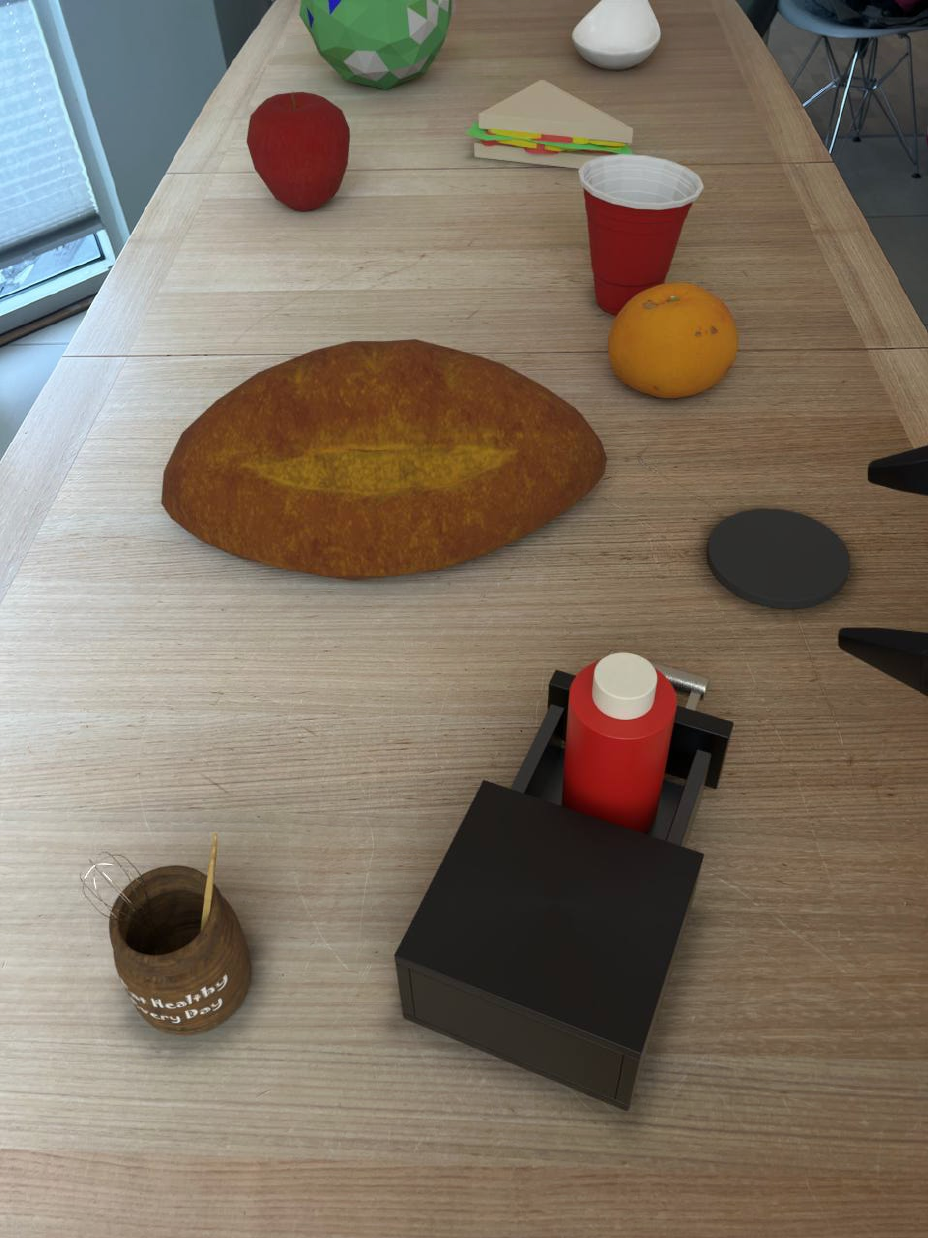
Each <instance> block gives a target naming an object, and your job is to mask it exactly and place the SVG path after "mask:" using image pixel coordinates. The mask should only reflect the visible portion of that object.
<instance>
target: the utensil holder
mask: <svg viewBox="0 0 928 1238" xmlns="http://www.w3.org/2000/svg"><path fill="white" fill-rule="evenodd" d="M218 834H219V833H216V832H215V833H213V838H212V844H211V849H210V854H209V861H208V866H207V874H205V873H204V872H202V871H201V870H199V869H197V868H193V867H192V866H191V867H190V866H187V865H178V864H177V865H176V864H175V865H165V866H160V867H156V868H153V869H150V870H148V871H146V872H143V873H142V874H141V873H140V871H139V870H138V868H136V866H135V865H134V864H133V863H132V862H131V861H130V860H129V859H128V858H127V857H126V856H124V855H122V854H111V853H110V852H108V851H102V852H99V854H98V855H97V856H96V859H95V862H94V861H93V860H92V859H91V858H88V862H89V863H90V864H89V865H86V866H84V867H83V868H82V869H81V870H80V873H79V880H80V882H81V883H82V892H83V895H84V897H85V898H86V900H87V901H88V903H90V904H91V906H92V907H93V908H94V909H95V910H96V911H97V912H98V913H99V914H101V915H102V916H104V917H106V918H108V933H109V939H110V944H111V947H112V951H113V961H114V966H115V969H116V972H117V975H118V977H119V979H120V981H121V983H122V986H123V987H124V989H125V991H126V993H127V995H128V996H129V998H130V1000H131V1002H132V1004H133V1005H134V1007H135V1009H136V1011H137V1012H138V1013H139V1015H140V1016H141V1017H142V1018H143V1019H144V1020H145V1021H146V1023H147V1024H149V1025H150V1026H152V1027H153V1028H154V1029H156V1030H158V1031H160V1032H162V1033H165V1034H167V1035H172V1036H179V1037H188V1036H195V1035H196V1036H197V1035H200V1034H203V1033H206V1032H209V1031H211V1030H213V1029H215V1028H217V1027H219V1026H220V1025H222V1024H223V1023H224V1022H226V1021H227V1020H228V1019H229V1018H231V1017H232V1015H234V1013H236V1011H237V1010H238V1009H239V1008H240V1006H241V1004H242V1003H243V1001H244V1000H245V998H246V995H247V993H248V990H249V988H250V984H251V980H252V959H251V953H250V950H249V946H248V943H247V940H246V938H245V934H244V931H243V929H242V925H241V923H240V921H239V919H238V916H237V914H236V912H235V910H234V908H233V906H232V905H231V904H230V902H228V900H227V899H226V898H225V897H224V896H223V895H222V893H221V891H220V890H219V888H218V887H217V885H216V884H215V883H214V881H215V875H216V874H215V873H216V866H217V865H216V864H217V852H218V851H217V850H218V849H217V848H218ZM102 854H107V855H106V856H104V857H102V858H101V859H99V857H100V856H101V855H102ZM115 856H118V857H122V858H124V859H125V860H126V861H127V862H128V863H129V864H130V865H131V866H132V867H133V869H135V871H136V872H137V874H138V875H139V876H137V877H136V876H134V875H133V874H132V872H130V871H129V869H126V868H125V867H123V866H122V865H121V864H120V863H119V862H118V860H117V859H116V858H115ZM109 857H111V858H112V859H113V860H114V861H115V862H116V863H117V864H114V863H106V862H105V863H103V862H102V863H100V862H101V861H103V860H104V859H107V858H109ZM98 859H99V860H98ZM101 865H108V866H114V867H117V868H119V869H121V870H122V871H123V872H124V873H125V875H126V877H127V878H128V880H129V883H128V884H127V885H126V886H125V887H124V889H123V890H121V889H120V887H118V885H116V883H115V882H114V881H113V880H112V879H111V878H110V877H109V876H108V875H107V874H106V873H105V871H103V870H102V869H101V868H100V867H99V866H101ZM89 867H90V869H89V870H88V871H87V873H86V874H85V877H84V878H83V879H82V872H83V871H84V870H85V869H87V868H89ZM92 869H93V884H94V889H95V891H96V894H97V896H96V895H95V893H94V892H92V891H91V889H90V888H89V887H88V885H87V884H86V883H85V881H86V879H87V876H88V875H89V873H90V872H91V870H92ZM96 871H97V872H98V873H99V874H100V875H101V876H102V878H103V879H104V880H105V882H107V883H108V885H109V886H110V887H111V888H112V889H113V890H114V892H116V893H117V894H118V896H117V897H116V899H115V901H114V903H113V906H111V905H109V904H108V903H106V902H104V900H103V899H102V897H101V896H100V894H99V891H98V888H97V885H96V876H95V875H96ZM128 873H129V875H131V877H133V880H131V878H130V876H129V875H128ZM109 881H110V882H109ZM111 883H112V884H111ZM114 886H115V887H116V888H115V887H114ZM85 888H86V889H87V890H88V891H89V892H90V893H91V895H93V897H94V898H95V899H97V900H98V901H99V902H100V903H102V904H103V905H104V907H106V909H108V911H109V912H110V914H109V916H108V915H106V914H104V913H103V912H101V911H100V910H99V909H98V908H97V907H96V906H95V905H94V904H93V903H92V901H91V899H89V897H88V896H87V894H86V893H85Z"/></svg>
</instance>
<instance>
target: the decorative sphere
mask: <svg viewBox="0 0 928 1238" xmlns="http://www.w3.org/2000/svg"><path fill="white" fill-rule="evenodd" d="M456 11H457V4H456V0H300V6H299V11H298V12H299V13H298V15H299V17H300V19H301V20H302V22H303V24H304V26H305V27H306V29H307V31H308V33H309V34H310V36H311V37H312V40H313V42H314V45H315V48H316V49H317V52H318V54H319V56H320V57H322V58H323V60H324V61H326V62H327V63H328V65H330V66H331V67H332V68H333V69H334V71H336V72H337V73H338V74H339V75H340V76H341V77H342V78H343V79H344V80H345V81H347V82H351V83H356V84H360V85H365V86H370V87H373V88H379V89H383V90H390V89H392V88H394V87H397V86H399V85H401V84H403V83H407V82H408V81H411V80H413V79H415V78H418V77H420V76H422V75H425V74H426V73H427V72H428V70H429V68H430V67H431V65H432V64H433V62H434V61H435V59H436V58H437V56H438V54H439V53H440V50H441V49H442V47H443V44H444V42H445V39H446V37H447V34H448V30H449V27H450V23H451V20H452V17H453V15H454V14H455V12H456Z"/></svg>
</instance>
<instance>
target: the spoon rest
mask: <svg viewBox="0 0 928 1238" xmlns="http://www.w3.org/2000/svg"><path fill="white" fill-rule="evenodd" d="M661 33H662V32H661V27H660V24H659V21H658V19H657V17H656V15H655V12H654V11H653V8H652V6H651V4H650V2H649V0H600V1H599V2H598V3H596V5H595V6H594V7H593V8H592V9H590V11H589V12H588V13H587V14H586V15H585V16H584V17H582V19H581V20H580V21H579V23H577V24H576V25H575V27H574V29H573V31H572V33H571V39H572V43H573V45H574V47H575V49H576V51H577V52H578V54H579V55H580V56H581V57H582V58H583V59H584V60H586V61H587V62H588V63H589V64H592V65H594V66H596V67H597V68H600V69H603V70H609V71H610V70H611V71H620V70H621V71H622V70H626V69H630V68H633V67H635V66H636V65H639V64H640V63H642V62H644V61H645V60H646V59H648V57H650V56H651V55H652V53H653V52H654V51H655V49H656V48H657V46H658V44H659V42H660V41H661V35H662V34H661Z"/></svg>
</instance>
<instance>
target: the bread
mask: <svg viewBox="0 0 928 1238" xmlns="http://www.w3.org/2000/svg"><path fill="white" fill-rule="evenodd" d="M607 462H608V457H607V453H606V452H605V447H604V445H603V442H602V440H601V439H600V437H599V436H598V434H596V432H595V431H594V429H593V428H592V426H591V425H590V424H589V422H588V421H587V420H586V419H585V417H584V415H583V414H582V413H581V412H580V411H579V410H578V409H577V408H576V407H575V406H573V405H572V404H570V403H569V402H568V401H566V400H565V399H563V398H562V397H561V396H559V395H558V394H556V393H554V392H553V391H551V390H550V389H549V388H547V387H546V386H544V385H543V384H541V383H539V382H537V381H535V380H533V379H532V378H529V377H528V376H526V375H524V374H523V373H520V372H519V371H517V370H515V369H514V368H511V367H510V366H507V365H506V364H504V363H501V362H498V361H496V360H493V359H489V358H487V357H484V356H481V355H477V354H474V353H470V352H466V351H462V350H459V349H455V348H451V347H448V346H444V345H441V344H435V343H433V342H428V341H424V340H420V339H416V338H411V339H396V340H350V341H346V342H343V343H338V344H335V345H330V346H325V347H321V348H316V349H313V350H311V351H307V352H306V353H303V354H300V355H298V356H296V357H293V358H290V359H288V360H286V361H283V362H281V363H278V364H275V365H272V366H271V367H268V368H266V369H263V370H260V371H258V372H257V373H255V374H253V375H251V376H250V377H249V378H247V379H246V380H245V381H243V382H242V383H240V384H239V385H237V386H236V387H234V388H233V389H231V390H230V391H228V392H227V393H225V394H224V395H222V396H221V397H219V398H218V399H216V400H215V401H214V402H213V403H212V404H211V405H210V406H209V407H207V408H206V410H205V411H203V412H202V413H201V414H200V415H199V416H198V417H197V418H196V419H195V420H194V421H193V422H192V423H191V424H189V426H187V428H185V429H184V430H183V431H182V432H181V434H180V436H179V438H178V440H177V442H176V443H175V446H174V448H173V450H172V453H171V455H170V457H169V459H168V461H167V464H166V466H165V467H164V470H163V477H162V487H161V489H162V490H161V500H160V504H161V505H162V507H163V508H164V510H165V511H166V513H167V515H168V516H169V517H170V519H171V520H173V521H174V522H175V523H177V524H178V525H179V526H180V527H181V528H183V530H185V531H187V532H188V533H190V535H192V536H193V537H195V538H197V539H198V540H200V542H203V543H205V544H208V545H209V546H212V547H214V548H216V549H219V550H221V551H223V552H225V553H228V554H230V555H232V556H234V557H237V558H239V559H242V560H246V561H248V562H249V561H250V562H253V563H257V564H260V565H261V564H262V565H265V566H269V567H272V568H277V569H282V570H287V571H291V572H292V571H293V572H297V573H298V572H299V573H304V574H309V575H314V576H320V577H326V578H330V579H331V578H332V579H339V580H346V581H361V580H363V581H364V580H371V579H381V578H389V577H390V578H391V577H396V576H405V575H411V574H418V573H425V572H431V571H438V570H439V571H440V570H443V569H446V568H449V567H452V566H455V565H458V564H462V563H464V562H467V561H470V560H473V559H476V558H479V557H482V556H484V555H488V554H490V553H493V552H494V551H497V550H498V549H500V548H502V547H505V546H507V545H508V544H511V543H513V542H515V541H517V540H519V539H521V538H523V537H526V536H528V535H530V534H532V533H533V532H534V531H536V530H538V529H540V528H542V527H543V526H544V525H546V524H548V523H549V522H550V521H551V522H552V520H554V519H556V518H557V517H559V516H560V515H562V514H564V513H565V512H567V510H569V509H570V508H572V507H573V506H574V505H576V504H577V503H578V502H579V501H581V499H583V498H584V497H585V496H587V495H588V494H589V493H590V492H592V490H593V489H594V488H595V486H596V485H597V484H598V483H599V482H600V480H601V478H603V476H604V475H605V473H606V468H607Z"/></svg>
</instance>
